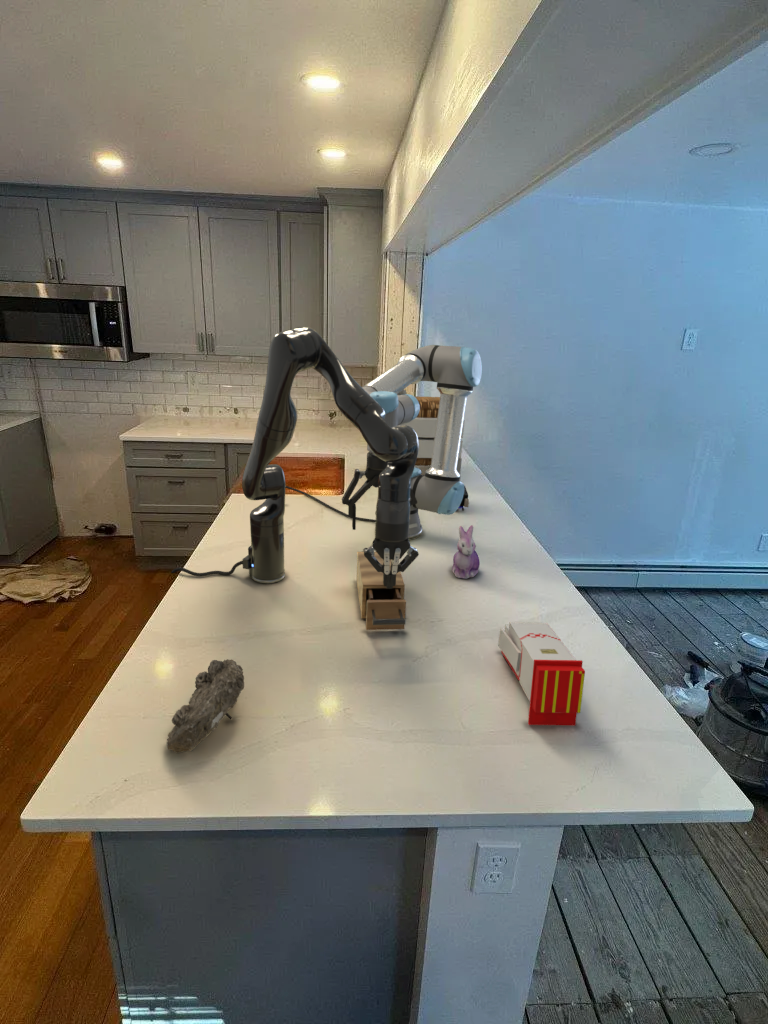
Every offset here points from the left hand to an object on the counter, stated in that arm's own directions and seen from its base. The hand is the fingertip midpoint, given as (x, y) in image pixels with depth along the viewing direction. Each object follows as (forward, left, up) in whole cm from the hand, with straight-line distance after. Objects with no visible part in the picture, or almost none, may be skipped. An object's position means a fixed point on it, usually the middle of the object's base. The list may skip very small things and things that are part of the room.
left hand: (389, 587), depth 131 cm
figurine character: (-4, +104, -14) cm, 105 cm away
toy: (+34, -4, -14) cm, 37 cm away
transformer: (-31, +146, -14) cm, 150 cm away
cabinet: (-8, +19, -14) cm, 25 cm away
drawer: (-4, +9, -13) cm, 17 cm away
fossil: (-22, -38, -14) cm, 46 cm away
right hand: (-11, +25, +4) cm, 28 cm away
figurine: (+11, +44, -14) cm, 48 cm away
